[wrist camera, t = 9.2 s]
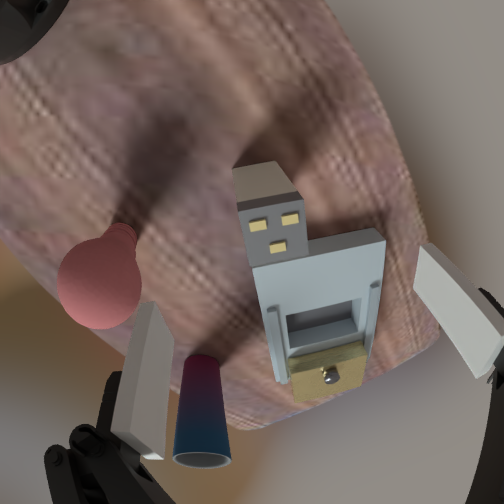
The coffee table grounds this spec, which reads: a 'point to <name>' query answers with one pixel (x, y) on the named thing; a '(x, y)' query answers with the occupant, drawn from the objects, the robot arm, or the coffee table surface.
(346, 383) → the panel
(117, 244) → the light bulb
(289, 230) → the plug
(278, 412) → the coffee table surface
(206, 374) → the cup
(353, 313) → the socket board
